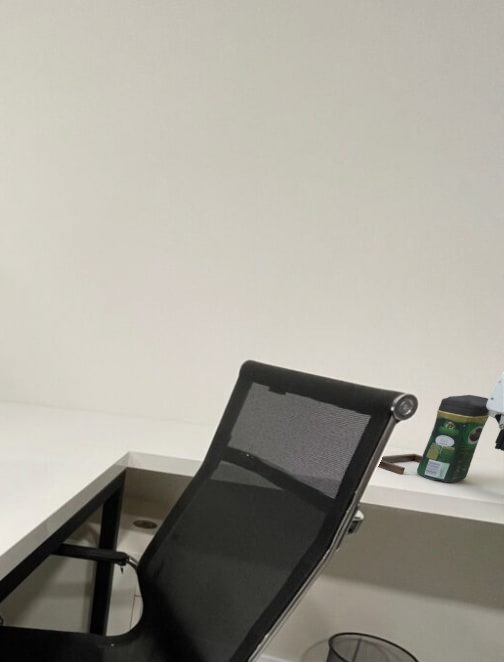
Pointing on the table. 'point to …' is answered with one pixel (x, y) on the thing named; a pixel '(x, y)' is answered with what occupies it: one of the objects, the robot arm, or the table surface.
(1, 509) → the table surface
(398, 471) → the walnut bay
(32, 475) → the table surface
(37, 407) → the table surface
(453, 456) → the coffee jar
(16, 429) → the table surface
